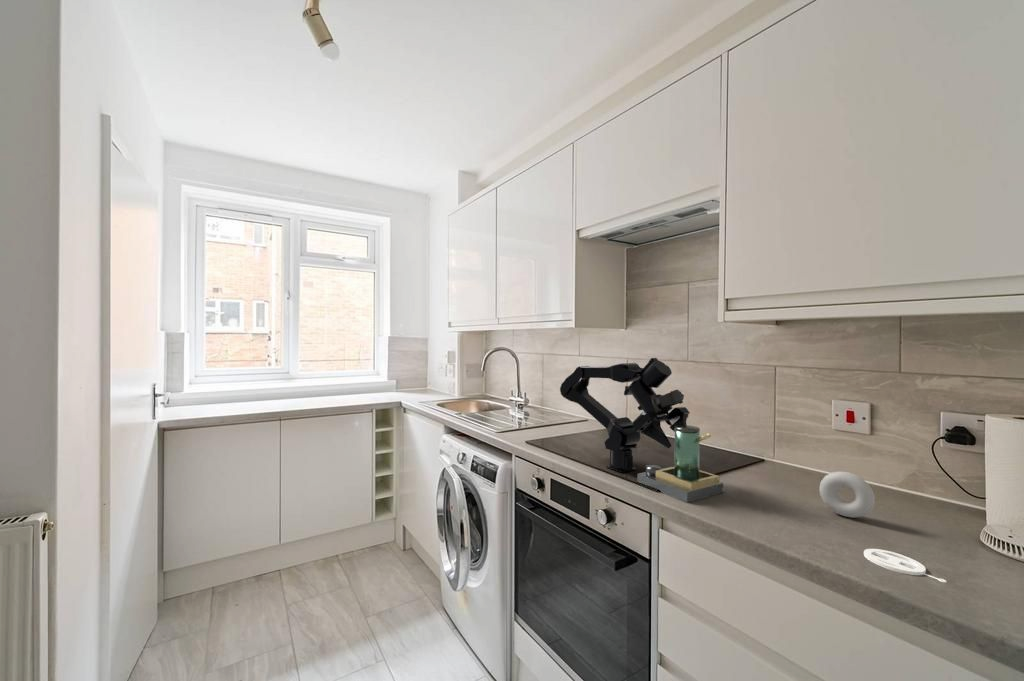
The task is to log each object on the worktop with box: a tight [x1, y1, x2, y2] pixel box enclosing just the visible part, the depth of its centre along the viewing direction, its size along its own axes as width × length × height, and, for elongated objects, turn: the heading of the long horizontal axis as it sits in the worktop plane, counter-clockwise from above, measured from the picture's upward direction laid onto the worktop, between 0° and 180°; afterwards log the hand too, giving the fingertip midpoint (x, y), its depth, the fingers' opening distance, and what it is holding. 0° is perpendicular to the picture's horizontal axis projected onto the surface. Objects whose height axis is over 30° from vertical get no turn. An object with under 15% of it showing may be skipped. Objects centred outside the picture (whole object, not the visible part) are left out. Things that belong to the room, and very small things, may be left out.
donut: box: [818, 470, 876, 519], centre depth 94 cm, size 10×4×10 cm, turn 39°
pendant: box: [863, 548, 948, 584], centre depth 74 cm, size 7×11×1 cm, turn 31°
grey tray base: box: [636, 464, 724, 503], centre depth 112 cm, size 16×14×4 cm
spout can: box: [673, 424, 712, 481], centre depth 109 cm, size 10×6×14 cm, turn 35°
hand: (680, 444), depth 111 cm, fingers open, 9 cm apart
